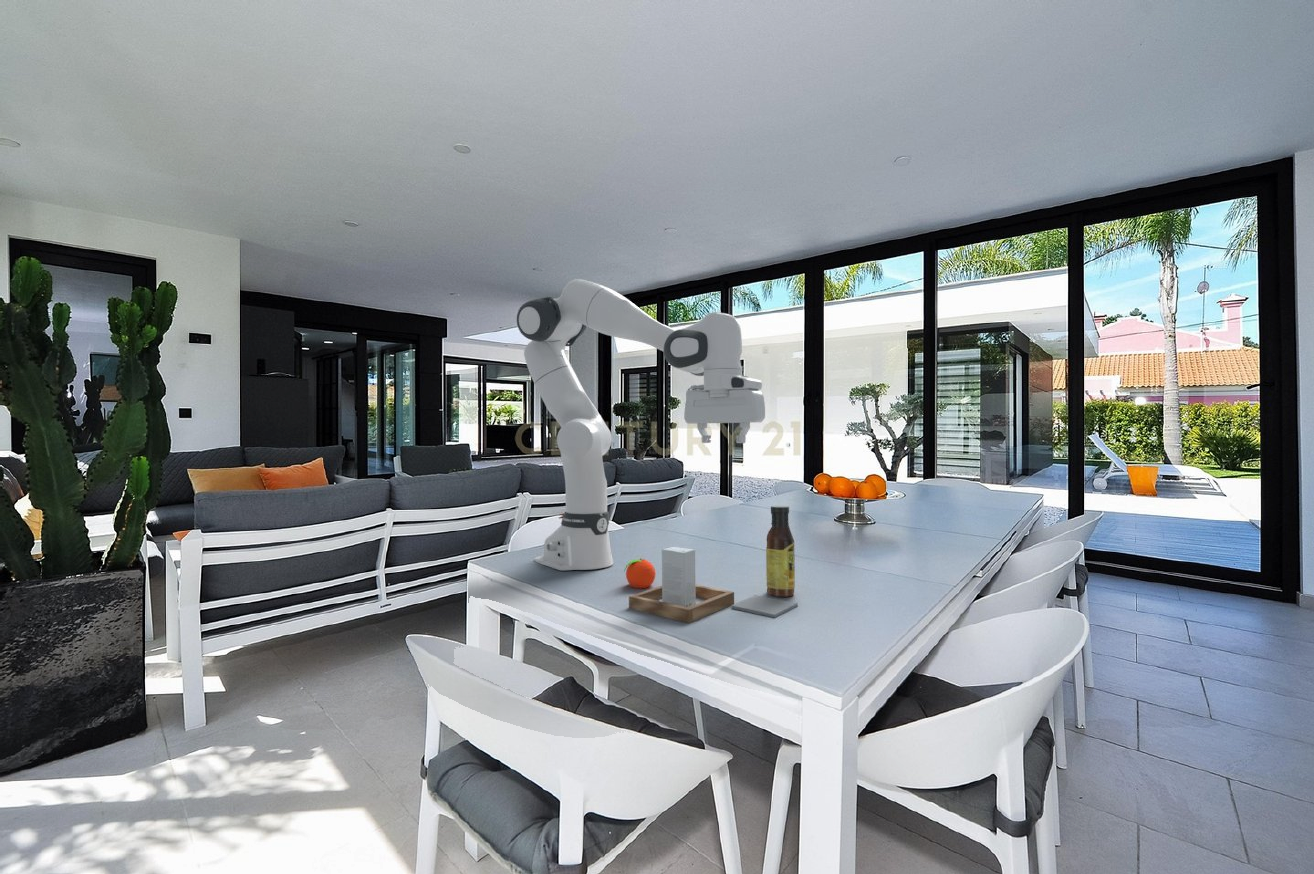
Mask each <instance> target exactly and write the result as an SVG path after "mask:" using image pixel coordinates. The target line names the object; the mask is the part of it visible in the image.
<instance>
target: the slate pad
mask: <svg viewBox="0 0 1314 874" xmlns="http://www.w3.org/2000/svg"><path fill="white" fill-rule="evenodd" d="M730 606H731V609H733V610H737V611H742V612H746V613H751V614H756V615H761V616H766V617H769V618H770V617H771V618H774V619H775V618H777V617H779V616H781V615H783V614H785V613H787V612H789V611H790V610H792V609H795V608H796V607H798V603H797V602H794V601H787V600H782V599H779V598H778V599H777V598H772V597H766V596H763V595H758V594H757V595H756V594H755V595H753V596H750V597H748V598H745V599H743V600H741V601H739V602H737V603H734V604H732V605H730Z"/></svg>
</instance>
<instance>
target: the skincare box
mask: <svg viewBox="0 0 1314 874" xmlns="http://www.w3.org/2000/svg"><path fill="white" fill-rule="evenodd" d="M661 571H662V572H661V583H662V584H661V586H662V598H661V602H665V603H670V604H674V605H679V606H683V607H690V606H693V605H695V604H697V603H696V602H697V601H696V599H697V598H696V586H695V585H696V549H694V548H693V549H692V548H685V547H678V546H677V547H676V546H671V547H668V548H662V549H661Z"/></svg>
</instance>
